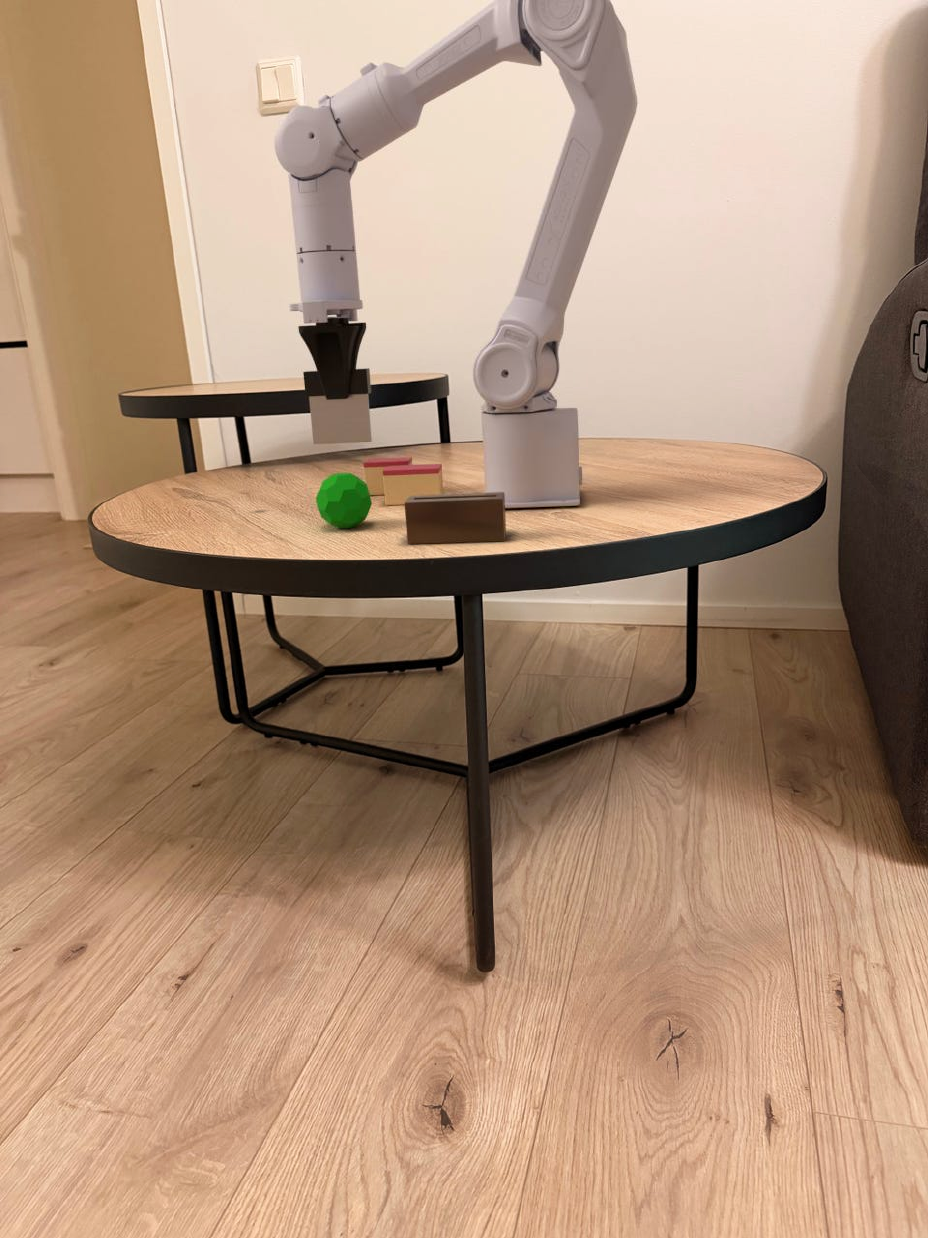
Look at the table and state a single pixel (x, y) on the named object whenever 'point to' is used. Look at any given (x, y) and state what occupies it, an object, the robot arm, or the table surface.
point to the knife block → (455, 518)
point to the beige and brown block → (340, 410)
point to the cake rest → (411, 482)
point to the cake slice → (380, 472)
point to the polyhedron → (343, 500)
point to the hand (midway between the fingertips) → (339, 398)
